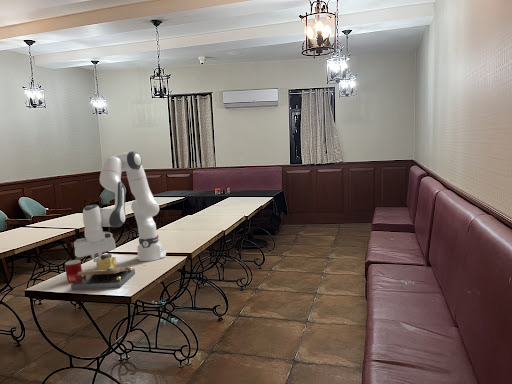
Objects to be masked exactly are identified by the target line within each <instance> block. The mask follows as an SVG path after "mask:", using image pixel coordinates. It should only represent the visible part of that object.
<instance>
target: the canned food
mask: <svg viewBox="0 0 512 384" xmlns="http://www.w3.org/2000/svg"><path fill="white" fill-rule="evenodd" d="M64 266H65V273H66V281H67V283H69V284H73V283H74V282H76V281H77V280H78V279H80V278H81V275H78V272H81V271H83V270H82V269H83V268H82V262H81V260H80V259H72V260H69V261H66V262H65V263H64Z"/></svg>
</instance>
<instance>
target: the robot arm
mask: <svg viewBox="0 0 512 384" xmlns="http://www.w3.org/2000/svg"><path fill="white" fill-rule="evenodd" d="M142 162H143V159H142V156H141V155H140V153H139V152H137V151H125V152H120V153H117V154H112V155H109V156H107V158H105V159H104V162H103V165H102V167H101V169H100V174H99V184H100V185H101V186H102V187H103V188H104V189H105V190H107V191H110V192H112V193H114V207H112V208H101V207H100V206H99V205H98V204H89V205H87V206H85V207H84V208H83V210H82V221H83V226H84V238H83V237H82V238H78V239H76V240H75V241H74V242H73V247H74V255H75V257H76V258H82V257H87V256H90V257H91V258H92V259H93V262H94V263H96V262H99V261H100V258H101V255H103V253H106V252H109V251H115V250H116V248H117V247H116V246H117V245H116V241H115V239H114V237H113V236H114V235H113V232H112V233H111V232H110V231H103V230H104V229H103V227H104V228H105V227H113V228H120V227H122V226H123V224H125V222H126V219H127V218H126V201H125V200H126V199H125V198H126V192H125V191H126V190H125V189H126V188H125V184H124V183H123V182H122V180H121V178H122V173H123V172H126V177H127V181H128V185H129V189H130V192H131V194H132V195H133V197H134V198H135V199H134V200H133V201H132V202H131V210H132V212H133V214H134V218H135V220H136V224H137V230H138V237H139V238H138V246H137V256H136V257H135V260H138V261H140V262H151V261H156V260H159V259H164V258H166V254H167V252H166V251H167V250H165V249H164V248H163V247H164V246H163V244H162V243H161V242H160V238H159V237H160V235H159V234H158V233H157V225H156V224H157V223H156V222H155V221H154V218H153V217H155V216H157V215H158V214H159V212H160V205H159V203H157V201H156V199H155V198H154V197H155V196H154V195H153V193H152V190H151V189H150V186H149V182H148V179H147V175H146V172H145V170H144V167H143V165H142V164H143V163H142ZM95 255H97V257H95Z"/></svg>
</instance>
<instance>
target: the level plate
mask: <svg viewBox="0 0 512 384" xmlns="http://www.w3.org/2000/svg"><path fill="white" fill-rule="evenodd" d="M95 263H96V268H91V269H86V270H82V271H81V272H78V275H95V274H115V273H118V272H121V271H125V270H128V267H129V266H117V257H116V256H112V254H111V253H106V254H104V253H103V254H102V255H101V257H100V261H99V262H95Z"/></svg>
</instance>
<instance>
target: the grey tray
mask: <svg viewBox="0 0 512 384" xmlns="http://www.w3.org/2000/svg"><path fill="white" fill-rule="evenodd" d="M127 267H128V270H125V271H121V272H118V273H115V274H95V275H81V278H80V279H78V280H77V281H76V282H74V283H70V289H71V291H81V290H82V291H83V290H107V289H108V290H109V289H120V288H122V287H123V286H124V285H126V283H127V282H129V280H130V279H132V278H133V277H134V276H135V275H136V269H135V268H133V267H132V266H127Z"/></svg>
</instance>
